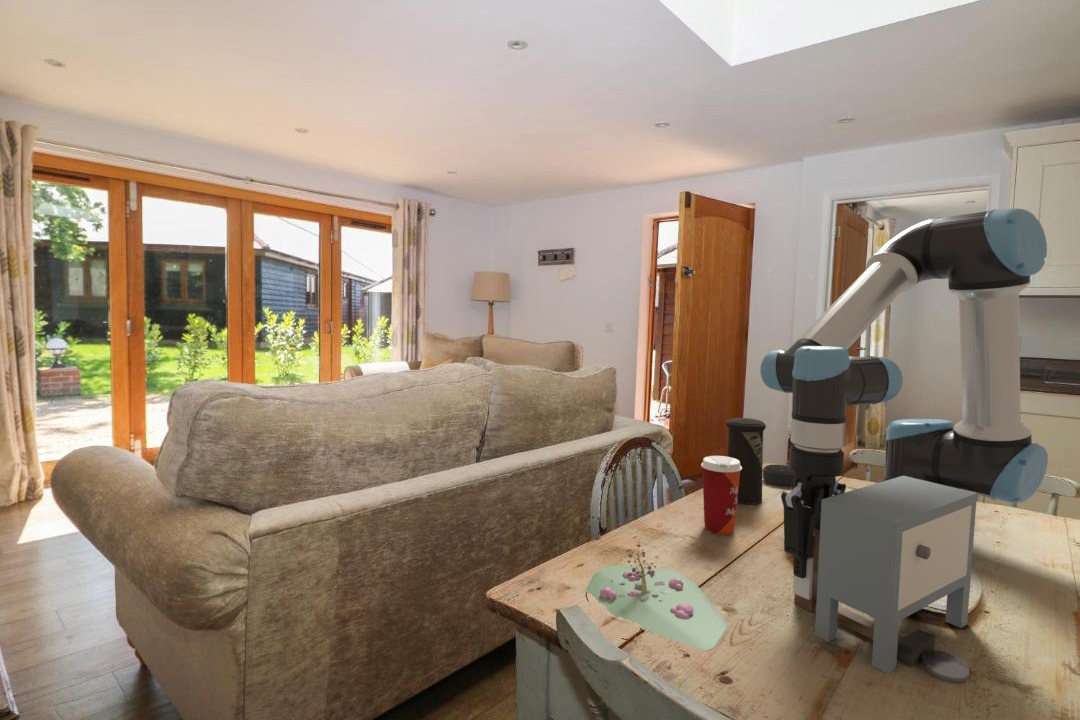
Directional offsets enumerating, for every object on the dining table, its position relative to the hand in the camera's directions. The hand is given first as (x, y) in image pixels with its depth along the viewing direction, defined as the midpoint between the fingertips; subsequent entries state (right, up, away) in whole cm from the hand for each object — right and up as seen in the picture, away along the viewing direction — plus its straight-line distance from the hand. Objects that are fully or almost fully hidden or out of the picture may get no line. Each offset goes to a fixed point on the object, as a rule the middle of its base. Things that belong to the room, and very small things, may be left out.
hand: (809, 592), depth 89 cm
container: (+7, +2, +49) cm, 50 cm away
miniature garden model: (-24, -3, +1) cm, 24 cm away
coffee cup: (-4, +1, +31) cm, 31 cm away
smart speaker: (+23, +3, +63) cm, 67 cm away
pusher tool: (+4, -3, -6) cm, 8 cm away
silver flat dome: (+10, -4, -16) cm, 19 cm away
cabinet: (+9, -3, -7) cm, 11 cm away
